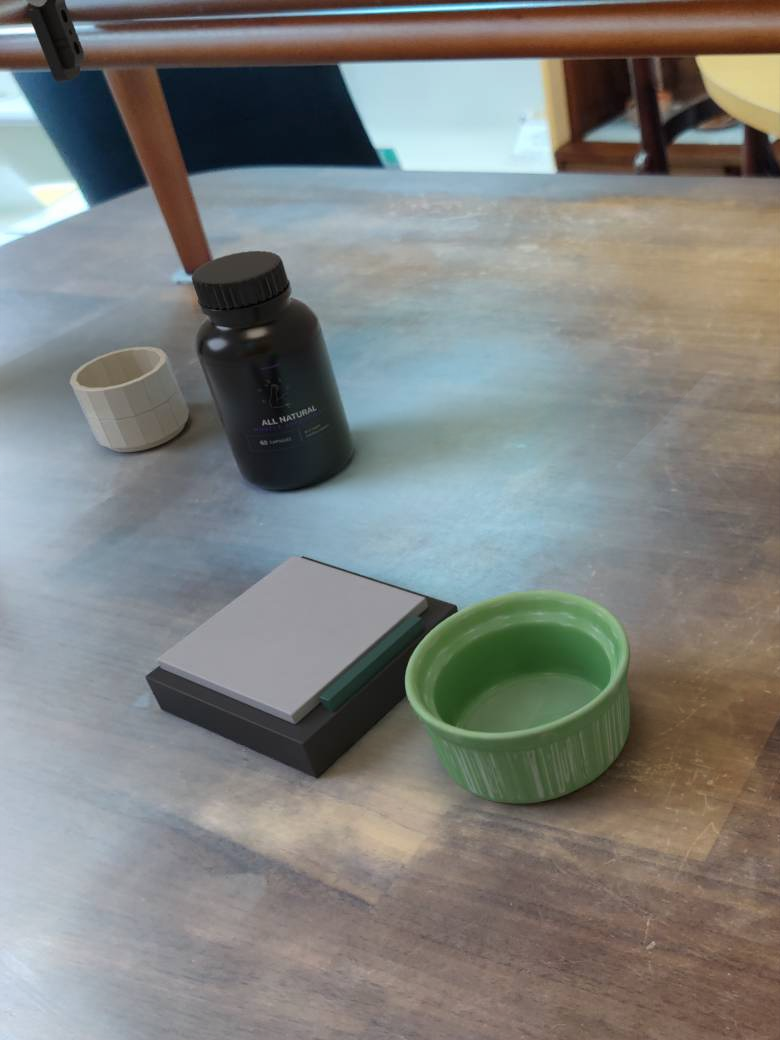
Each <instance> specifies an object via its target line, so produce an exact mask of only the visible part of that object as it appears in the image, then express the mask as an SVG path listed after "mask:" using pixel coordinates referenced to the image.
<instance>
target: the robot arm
mask: <svg viewBox="0 0 780 1040" xmlns="http://www.w3.org/2000/svg"><path fill="white" fill-rule="evenodd" d="M26 2H28V4H30V5H31V8H29V9H27V10H26V12H27V15H28V17H29V20H30V23H31V25H32V27H33V28H32V29H33V30H34V33H35V35H36V38H37V40H38V42H39V45H40V47H41V50H42V52H43V55H44V58H45V60H46V62H47V66H48V67H49V70H50V72H51V76H52V77H53V79H54V80H55V81H56V82H57V83H64V82H70V81H72V80H74V79H75V78H77V77H78V76H80V75H81V66H80V65H82V64H83V63H84V62H85V52H84V51H85V50H84V49H83V46H82V44H81V41H80V38H79V36H78V33H77V30H76V28H75V25H74V23H73V19H72V17H71V14H70V12H69V9H68V7H67V4H66V0H26Z"/></svg>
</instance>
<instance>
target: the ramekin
mask: <svg viewBox="0 0 780 1040" xmlns="http://www.w3.org/2000/svg"><path fill="white" fill-rule="evenodd" d="M624 628H625V627H623V625H622V623H621V621H620V620H619V619H618V617H617V616H616V615H615V614H613V613H612V612H611V610H609V609H608V608H607V607H605V606H604V605H602V604H600V603H598V602H596V601H594V600H593V599H590V598H589V597H585V596H582V595H580V594H576V593H572V592H565V591H561V590H550V589H548V590H546V589H537V590H523V591H515V592H508V593H505V594H501V595H497V596H496V595H495V596H493V597H490V598H487V599H483V600H481V601H478V602H475V603H473V604H471V605H468V606H466V607H464V608H462V609H460V610H458V612H457V613H455V614H453V615H452V616H450V617H448V618H447V619H445V620H444V621H443V622H441V623H440V624H438V625H437V626H436V627H435V628H434V629H433V630H431V631H430V632H429V633H428V634H427V635H426V636H425V638H424V639H423V640H422V641H421V642H420V643H419V645H418V646H417V648H416V649H415V651H414V652H413V654H412V656H411V658H410V660H409V663H408V666H407V669H406V674H405V688H406V698H407V700H408V702H409V705H410V706H411V708H412V710H413V712H414V713H415V715H416V716H417V718H418V720H420V722H421V723H422V724H423V725H424V727H425V729H426V731H427V733H428V736H429V738H430V740H431V742H432V745H433V747H434V749H435V751H436V754H437V756H438V758H439V760H440V762H441V765H442V766H443V768H444V770H445V771H446V773H447V775H448V776H449V777H450V779H452V780H453V781H454V783H456V784H457V785H458V786H459V787H461V788H462V789H463V790H465V791H466V792H468V793H470V794H472V795H474V796H477V797H479V798H482V799H484V800H488V801H492V802H496V803H504V804H505V803H506V804H517V805H518V804H534V803H541V802H546V801H549V800H555V799H557V798H558V799H559V798H560V797H563V796H566V795H569V794H572V793H573V792H575V791H578V790H580V789H581V788H584V787H585V786H586V785H588V784H590V783H591V782H593V781H594V780H596V779H597V778H598V777H600V776H601V775H602V774H603V773H605V771H607V770H608V769H609V768H610V766H611V765H612V764H613V763H614V762H616V761H615V760H616V759H617V758H618V757H619V755H620V754H621V752H622V750H623V748H624V747H625V744H626V742H627V739H628V737H629V732H630V726H631V705H630V696H629V695H630V694H629V683H628V674H629V669H630V663H631V647H630V642H629V637H628V634H627V632H626V630H625V629H624Z"/></svg>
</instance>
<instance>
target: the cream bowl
mask: <svg viewBox="0 0 780 1040" xmlns="http://www.w3.org/2000/svg"><path fill="white" fill-rule="evenodd" d="M69 384H70V386H71V389H72V390H73V393H74V395H75V398H76V399H77V402H78V403H79V405H80V408H81V410H82V412H83V415H84V416H85V419H86V421H87V423H88V425H89V428H90V430H91V431H92V433H93V436H94V438H95V440H96V441H97V443H98V444H99V445H100V446H102V447H105V448H108V449H109V450H110V451H113V452H116V453H117V452H118V453H134V452H142V451H146V450H149V449H152V448H155V447H159V446H161V445H164V444H165V443H167V442H169V441H171V440H173V439H174V438H175V437H177V436H178V435H179V434H180V433H181V432H182V431H183V430H184V428H185V427H186V423H187V421H188V419H189V415H190V410H189V407H188V404H187V401H186V399H185V397H184V394H183V392H182V389H181V387H180V384H179V382H178V379H177V376H176V374H175V371H174V368H173V366H172V363H171V361H170V359H169V357H168V354H166V352H165V351H164V350H163V348H157V347H153V346H133V347H127V348H122V349H117V350H113V351H111V352H107V353H104V354H102V355H99V356H97V357H94V358H93V359H90V360H89V361H86V362H85V363H83V364H82V365H81V366H79V367H78V368H77V369H76V370H75V371H74V372H72V374H71V377H70V380H69Z"/></svg>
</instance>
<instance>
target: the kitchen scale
mask: <svg viewBox="0 0 780 1040" xmlns="http://www.w3.org/2000/svg"><path fill="white" fill-rule="evenodd" d="M458 611H459V609H458V606H457V605H456V604H454V603H452V602H447V601H445V600H441V599H438V598H435V597H432V596H428V595H426V594H423V593H420V592H417V591H413V590H410V589H407V588H403V587H401V586H398V585H394V584H392V583H388V582H385V581H382V580H379V579H376V578H373V577H370V576H367V575H363V574H360V573H358V572H354V571H352V570H351V571H350V570H348V569H345V568H342V567H339V566H336V565H333V564H329V563H326V562H323V561H320V560H316V559H313V558H310V557H307V556H304V555H302V556H297V555H292V556H290V557H289V558H287V559H286V560H284V561H283V562H282V563H280V565H278V566H277V567H275V568H274V569H273V570H272V571H269V572H268V573H267V574H266V575H265V576H264V577H263V578H261V579H260V580H258V581H257V582H256V583H254V584H253V585H251V586H250V587H249V588H248V589H247V590H245V591H244V592H243V593H241V594H240V595H239V596H238V597H236V598H235V599H233V600H232V601H231V602H230V603H228V604H227V605H226V606H224V607H223V608H221V609H220V610H219V611H218V612H217V613H215V614H213V615H212V616H210V617H209V619H207V620H205V622H203V623H202V624H200V625H199V626H198V627H197V628H195V629H194V630H193V631H191V632H190V633H189V634H188V635H186V636H185V637H183V638H182V639H181V640H179V641H178V642H177V643H176V644H174V645H173V646H172V647H170V648H169V649H167V650H166V651H165V652H164V653H162V654H161V655H160V656H158V657H157V658H156V661H157V663H158V665H157V666H156V667H155V668H154V669H152V671H150V672H149V673H147V674H146V675H145V677H144V678H145V680H146V682H147V684H148V686H149V688H150V690H151V692H152V694H153V696H154V699H155V700H156V702H157V704H158V706H159V707H160V710H162V711H165V712H167V713H169V714H171V715H173V716H175V717H178V718H180V719H182V720H185V721H187V722H189V723H191V724H194V725H196V726H198V727H200V728H202V729H205V730H207V731H209V732H211V733H214V734H216V735H218V736H221V737H223V738H225V739H228V740H230V741H232V742H234V743H236V744H239V745H241V746H243V747H246V748H248V749H249V750H252V751H255V752H257V753H260V754H262V755H263V756H265V757H268V758H270V759H272V760H275V761H277V762H280V763H282V764H283V765H286V766H289V767H291V768H293V769H296V770H298V771H300V772H302V773H305V774H307V775H309V776H312V777H314V778H319V777H320V776H321V775H322V774H323V773H324V772H325V771H326V770H327V769H328V768H329V767H330V766H331V765H333V763H335V762H336V761H337V759H339V758H340V757H341V756H342V755H343V754H345V752H347V750H348V749H350V747H351V746H353V745H354V744H355V743H356V742H357V741H358V740H359V739H360V738H361V737H362V736H363V735H365V734H366V732H367V731H368V730H370V729H371V728H372V727H373V726H374V725H375V724H376V723H377V722H378V721H379V720H381V718H383V717H384V716H385V715H386V714H387V713H388V712H389V711H390V710H391V709H392V708H393V707H395V705H396V704H397V703H398V702H400V701H401V700H402V699H403V698H404V697H405V696H407V694H406V688H405V674H406V669H407V666H408V663H409V660H410V658H411V656H412V654H413V652H414V651H415V649H416V648H417V646H418V645H419V643H420V642H421V641H422V640H423V639H424V638H425V636H426V635H427V634H428V633H429V632H430V631H431V630H433V629H434V628H435V627H436V626H437V625H438V624H440V623H441V622H443V621H444V620H445V619H447V618H448V617H450V616H452V615H453V614H455V613H457V612H458Z"/></svg>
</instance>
